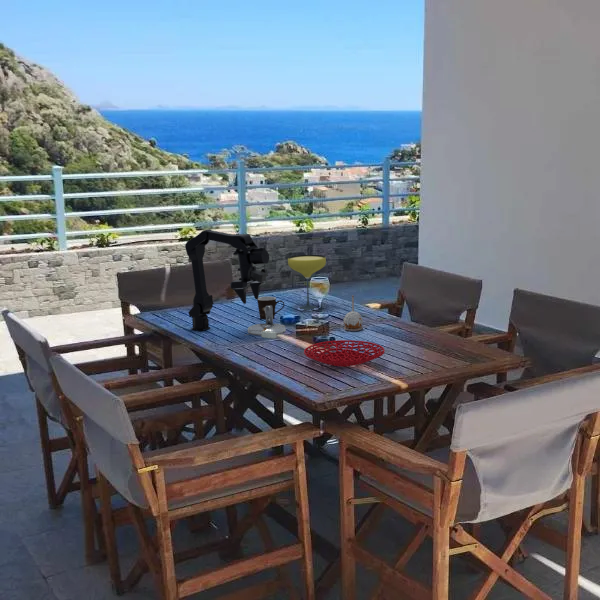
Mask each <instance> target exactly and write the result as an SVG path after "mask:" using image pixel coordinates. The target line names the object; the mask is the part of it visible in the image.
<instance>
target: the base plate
mask: <svg viewBox="0 0 600 600" xmlns="http://www.w3.org/2000/svg"><path fill="white" fill-rule="evenodd" d="M261 334H262V336H261V338H265V339H277V335H276V332H271V331H270V330H267V331H262V332H261ZM249 335H251V334H249V333H248V334H244V335H243V336H249Z"/></svg>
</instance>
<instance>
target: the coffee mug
mask: <svg viewBox="0 0 600 600" xmlns="http://www.w3.org/2000/svg"><path fill="white" fill-rule="evenodd" d="M256 301H257V307H258V313H259V314H258V315H259V319H260V320H266V308H265V306H272V308H273V320H275V317H276V314H277V313H279V312H280V311H282V310H283V309H284V307H285V302H284V301H283V300H281V299H279V300H277V297H275V296H260V297H259V296H258V299H256ZM279 302H280V303H282V304H283V305H282V307H281V308H280V309H278V310H277V311H276V306H277V304H278V303H279Z"/></svg>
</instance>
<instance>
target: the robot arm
mask: <svg viewBox="0 0 600 600" xmlns="http://www.w3.org/2000/svg"><path fill="white" fill-rule="evenodd" d="M210 241H212V242H218V243H222V244H227V245H230V246H231V247H232V248H234V249H235V251H234V252H233V253H232V255H233V256H237V257H238V265H239V266H238V268H237V271H238V272H239V274H240V277H239V278H238V279H237V280H233V281H231V282H230V289H232V290H233V291H234V292H235V293H236V295H237V296H238V297H239V299H240V300H241V302H242V304H243V305H247V293H246V292H247V291H248V288H249V287H250V288H251V291H252V295H253V297H254V299H255V300H257V299H258V298H259V296H260V289H261V286H262V285H263V284H264V283H265V282H266V280H267V277H269V274H268V273H269V272H268V268H261V270H260V269H257V267H256V265H267V264H268V263H269V262H270V254H269V252H268V250H267V249H266V246H263V247H262V246H261V247H258V246H257V244H256V242H254V240H253V239H252V237H251V234H247V233H241V234H239V233H238V234H237V233H236V234H232V233H228V232H223V231H216V230H212V229H208V228H207V229H204V230H202V231H200V232H199V234H197V235H195V236H194V237H193V238H191V239H190V240H187V241H186V242H185V244H184V248H185V251H186V255H187V257H188V259H190V261H191V269H192V270H191V271H192V277H193V283H194V284H193V285H194V291H195V293H194V296H193V301H192V302H193V303H192V304H193V305H192V307H191V308H190V309H189V311H188V315H189V317H190V318H191V322H192V327H191V328H190V330H191V329H193V330H192V331H197V330H198V332H199V331H200V332H203V331H206V330H209V329H211V326H210V325H209V324H210V323H209V317H208V316H209V315H210V314H211V310H212V308H213V305H215V304H214V303H215V302H214V300H213V295H212V294H209V293H208V291H207V283H206V276H205V267H204V260H203V259H204V256H205V254H206V246H207V245H208V244H209V242H210ZM248 284H249V285H250V286H249V287H248Z"/></svg>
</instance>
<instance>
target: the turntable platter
mask: <svg viewBox="0 0 600 600" xmlns="http://www.w3.org/2000/svg"><path fill="white" fill-rule="evenodd" d="M265 308H266V319H265V323H258V324H253V325H250V326H248V327H247V333H248V334H250V335H253V336H261V337H262V334H261V332H262V331H267V330H270V331H271V332H276V336H277V335H281V334H283V333H285V332H286V330H287V329H286V325H284V324H280V323H274V319H273V308H272V306H265Z"/></svg>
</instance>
